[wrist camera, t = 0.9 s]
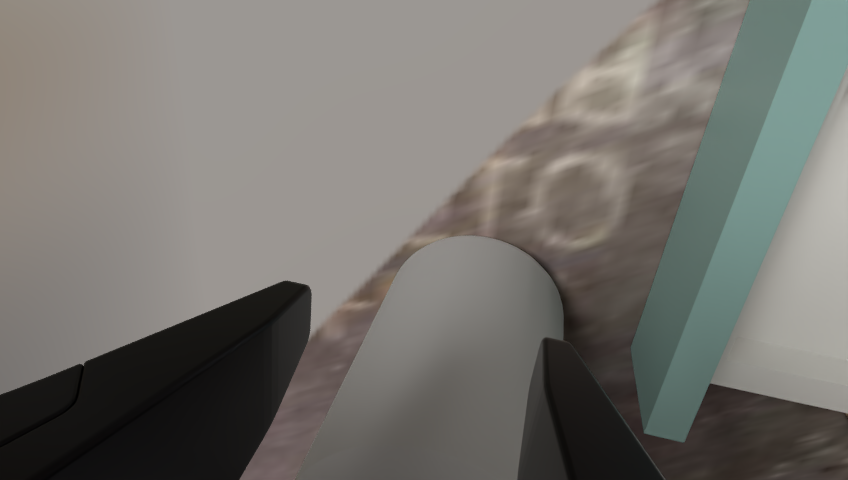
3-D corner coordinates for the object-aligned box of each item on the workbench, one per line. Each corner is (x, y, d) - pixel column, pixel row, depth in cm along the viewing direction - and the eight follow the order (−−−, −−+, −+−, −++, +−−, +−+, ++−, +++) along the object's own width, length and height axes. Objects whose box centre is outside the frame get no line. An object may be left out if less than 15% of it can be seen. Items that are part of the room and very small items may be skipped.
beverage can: (591, 260, 21) (615, 574, 11) (529, 392, 24) (501, 738, 14) (418, 202, 22) (280, 452, 11) (378, 339, 25) (241, 637, 14)
